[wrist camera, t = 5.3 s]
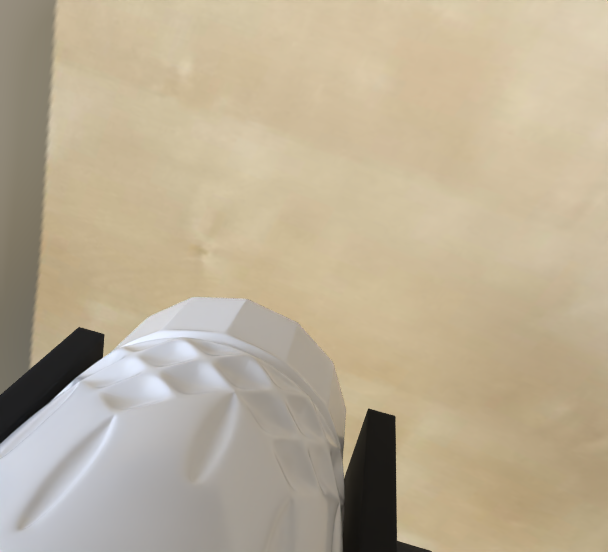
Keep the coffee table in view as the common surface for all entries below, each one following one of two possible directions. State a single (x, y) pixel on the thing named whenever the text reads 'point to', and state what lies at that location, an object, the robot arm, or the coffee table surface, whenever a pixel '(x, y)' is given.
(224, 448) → the white cup
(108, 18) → the coffee table surface
